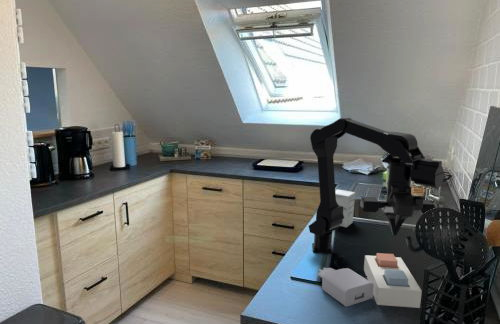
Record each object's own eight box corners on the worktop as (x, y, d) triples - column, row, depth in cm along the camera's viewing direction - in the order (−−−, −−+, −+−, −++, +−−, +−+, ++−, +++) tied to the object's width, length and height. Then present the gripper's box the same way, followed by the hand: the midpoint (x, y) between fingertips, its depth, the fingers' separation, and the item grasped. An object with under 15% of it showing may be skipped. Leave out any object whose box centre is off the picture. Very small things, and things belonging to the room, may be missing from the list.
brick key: (375, 267, 108) (376, 253, 107) (391, 268, 108) (393, 254, 107) (378, 275, 104) (380, 260, 103) (396, 276, 103) (397, 261, 102)
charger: (333, 273, 109) (372, 299, 96) (307, 280, 104) (344, 308, 91) (334, 257, 108) (374, 281, 95) (308, 264, 104) (345, 290, 90)
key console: (363, 269, 111) (364, 255, 110) (399, 272, 109) (400, 257, 109) (377, 304, 93) (378, 287, 92) (419, 307, 92) (421, 290, 91)
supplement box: (328, 224, 148) (330, 192, 145) (335, 218, 154) (337, 188, 151) (346, 228, 144) (348, 196, 141) (353, 222, 150) (355, 191, 147)
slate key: (383, 285, 98) (384, 269, 97) (401, 286, 98) (403, 270, 97) (387, 294, 94) (388, 278, 93) (406, 296, 93) (408, 279, 92)
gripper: (369, 186, 95) (364, 244, 98) (447, 190, 93) (440, 249, 96) (361, 176, 106) (357, 229, 109) (431, 179, 104) (425, 233, 107)
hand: (394, 235), depth 105 cm, fingers closed
